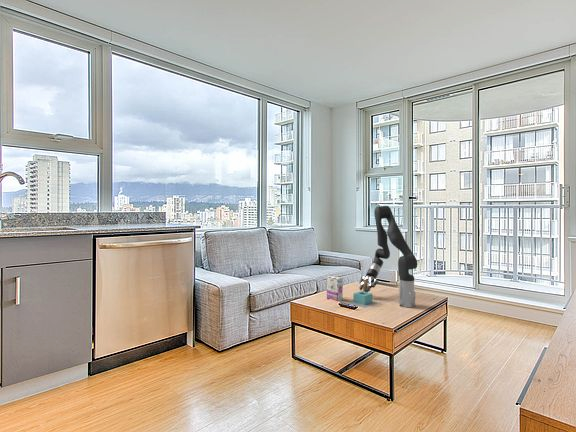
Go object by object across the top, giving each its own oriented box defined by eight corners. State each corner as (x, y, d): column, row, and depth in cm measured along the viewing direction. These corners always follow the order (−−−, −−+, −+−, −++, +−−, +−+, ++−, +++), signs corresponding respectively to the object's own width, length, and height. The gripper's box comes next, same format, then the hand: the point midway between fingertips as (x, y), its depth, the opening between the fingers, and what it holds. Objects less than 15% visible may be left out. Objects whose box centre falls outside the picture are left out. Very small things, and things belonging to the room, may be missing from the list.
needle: (368, 299, 237) (368, 279, 237) (365, 300, 235) (366, 280, 235) (364, 298, 239) (364, 278, 239) (362, 299, 237) (362, 279, 237)
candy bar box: (342, 301, 232) (343, 278, 231) (337, 302, 229) (337, 279, 228) (331, 297, 241) (331, 275, 240) (326, 299, 238) (326, 276, 237)
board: (378, 304, 226) (378, 302, 226) (365, 309, 215) (365, 307, 215) (361, 299, 236) (361, 298, 236) (347, 304, 225) (347, 302, 225)
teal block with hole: (372, 302, 226) (372, 293, 226) (364, 305, 220) (364, 296, 220) (361, 299, 233) (361, 290, 233) (353, 302, 227) (353, 293, 227)
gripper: (363, 266, 247) (353, 285, 239) (380, 269, 236) (370, 289, 229) (367, 272, 251) (357, 291, 243) (384, 275, 240) (374, 295, 232)
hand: (363, 290), depth 236 cm, fingers open, 5 cm apart
